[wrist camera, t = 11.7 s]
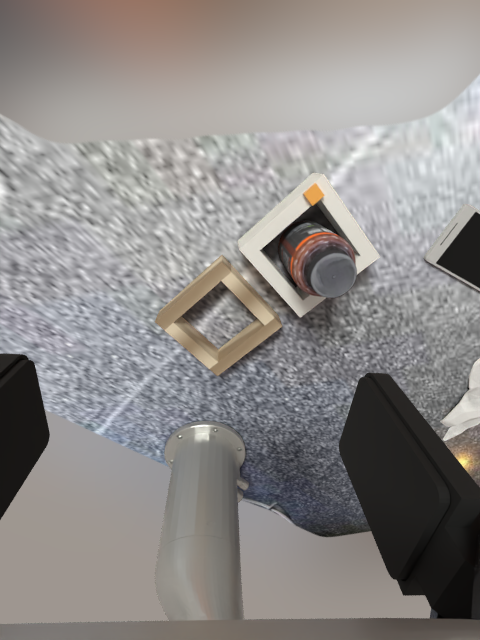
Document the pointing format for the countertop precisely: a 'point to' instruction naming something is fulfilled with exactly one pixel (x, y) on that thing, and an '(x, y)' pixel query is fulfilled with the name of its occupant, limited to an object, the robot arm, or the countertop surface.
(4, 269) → the countertop surface
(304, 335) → the countertop surface
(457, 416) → the cloth
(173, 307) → the block
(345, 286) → the supplement bottle
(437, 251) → the smartphone
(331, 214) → the socket block
